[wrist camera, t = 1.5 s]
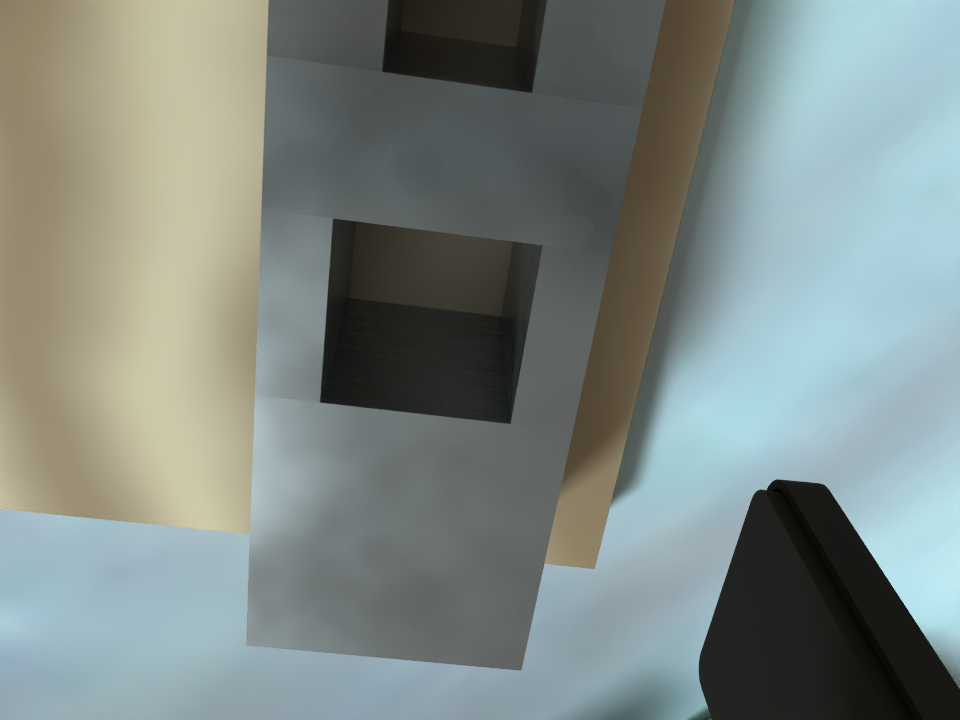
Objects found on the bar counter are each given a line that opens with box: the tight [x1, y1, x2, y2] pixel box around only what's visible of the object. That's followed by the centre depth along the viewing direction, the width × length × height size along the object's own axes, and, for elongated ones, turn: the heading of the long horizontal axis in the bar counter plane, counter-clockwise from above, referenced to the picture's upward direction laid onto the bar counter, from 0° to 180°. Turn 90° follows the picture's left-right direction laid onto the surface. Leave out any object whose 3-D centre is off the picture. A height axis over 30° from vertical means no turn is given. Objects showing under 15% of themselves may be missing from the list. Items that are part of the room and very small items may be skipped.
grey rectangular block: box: [246, 0, 666, 670], centre depth 19 cm, size 16×6×5 cm, turn 172°
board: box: [0, 0, 735, 569], centre depth 18 cm, size 28×18×8 cm, turn 82°
